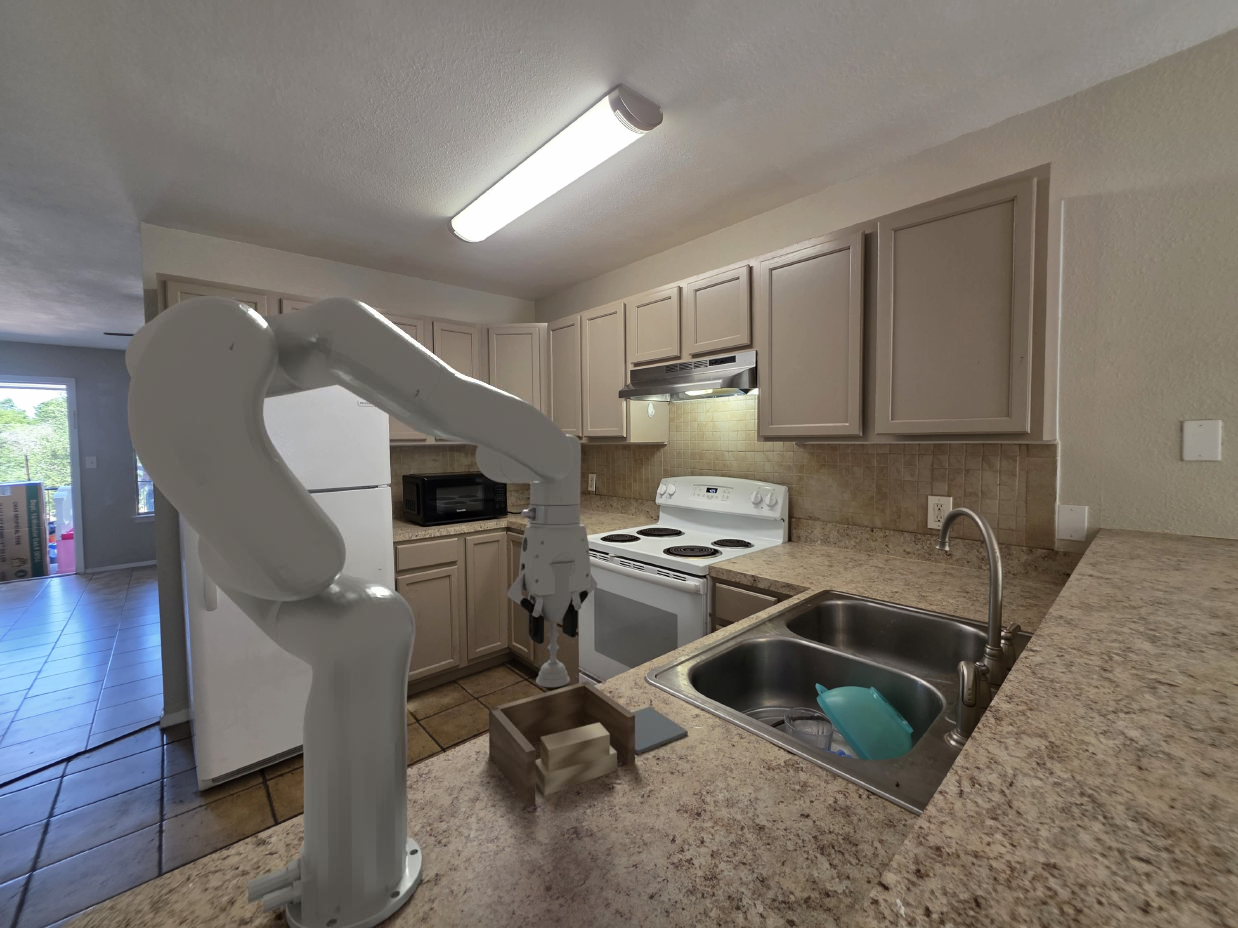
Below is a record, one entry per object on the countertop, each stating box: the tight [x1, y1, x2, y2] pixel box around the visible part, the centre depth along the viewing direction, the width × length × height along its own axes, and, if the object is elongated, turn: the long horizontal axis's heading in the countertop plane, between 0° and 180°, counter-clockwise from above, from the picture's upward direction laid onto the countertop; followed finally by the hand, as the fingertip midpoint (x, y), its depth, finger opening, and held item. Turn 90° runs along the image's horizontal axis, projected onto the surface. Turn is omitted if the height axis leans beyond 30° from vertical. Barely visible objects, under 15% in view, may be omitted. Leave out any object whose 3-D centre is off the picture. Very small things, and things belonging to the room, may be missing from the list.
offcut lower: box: [536, 746, 618, 796], centre depth 72 cm, size 11×4×3 cm, turn 120°
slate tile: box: [631, 706, 689, 755], centre depth 83 cm, size 10×10×1 cm
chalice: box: [535, 561, 575, 688], centre depth 76 cm, size 7×7×18 cm
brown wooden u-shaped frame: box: [488, 680, 636, 808], centre depth 75 cm, size 17×14×7 cm
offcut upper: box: [540, 723, 610, 772], centre depth 72 cm, size 9×4×3 cm, turn 116°
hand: (553, 636), depth 76 cm, fingers closed on chalice, 4 cm apart
